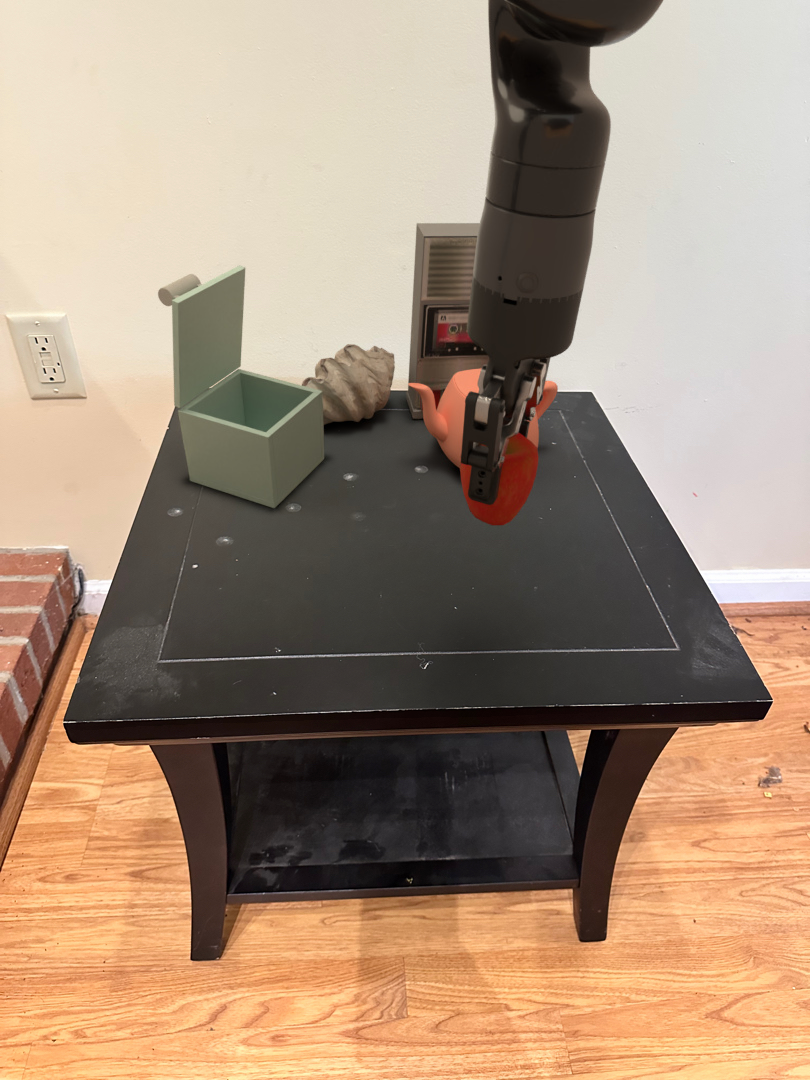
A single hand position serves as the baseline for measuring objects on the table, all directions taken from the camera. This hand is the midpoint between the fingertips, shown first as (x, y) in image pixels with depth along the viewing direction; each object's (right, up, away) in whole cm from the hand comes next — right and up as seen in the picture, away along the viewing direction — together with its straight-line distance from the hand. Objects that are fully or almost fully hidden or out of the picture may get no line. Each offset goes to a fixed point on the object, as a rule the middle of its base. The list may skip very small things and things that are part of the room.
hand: (496, 477), depth 60 cm
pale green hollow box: (-26, +4, +32) cm, 42 cm away
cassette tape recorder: (0, +14, +47) cm, 49 cm away
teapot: (+2, +6, +37) cm, 38 cm away
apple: (0, -3, +3) cm, 4 cm away
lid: (-29, +18, +23) cm, 42 cm away
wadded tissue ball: (-16, +12, +44) cm, 48 cm away
